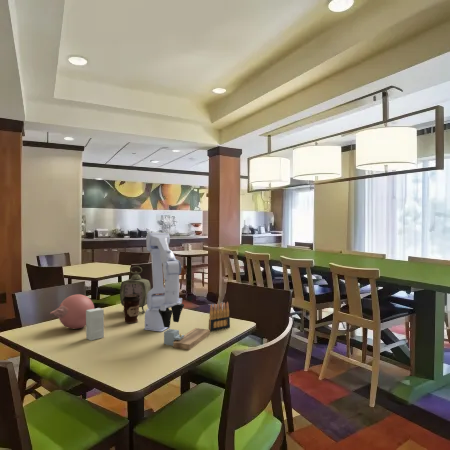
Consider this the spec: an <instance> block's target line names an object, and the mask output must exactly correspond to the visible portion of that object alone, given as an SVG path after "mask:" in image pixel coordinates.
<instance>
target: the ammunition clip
mask: <svg viewBox="0 0 450 450" xmlns="http://www.w3.org/2000/svg"><path fill="white" fill-rule="evenodd" d="M229 305H230V304H229V302H228V301H226V303H225V301H224V302H223V303H222V302H220V304H219V303H217V304H216V303H213V305H212V303H211V304H210V306H209V307H210V308H209V318H208V330H210V332H214V331H220V330H224V329H229V328H231V322H230V321H231V319H230V308H229Z"/></svg>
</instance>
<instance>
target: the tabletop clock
mask: <svg viewBox="0 0 450 450" xmlns="http://www.w3.org/2000/svg"><path fill="white" fill-rule="evenodd" d="M133 268H139V269H140V271H139V272H138V271H136V270H135V271H132V269H133ZM129 271H130V273H131V274H132V276H131V278H130V279H127V280H124V281H121V284H120V288H119V289H120V290H119V299H120V300H119V301H120V304H121V306H123V307H124V304H123V298H124V297H125V295H129V294H137V295H140V297H139V298H140V301H139V308H141V309H142V312H141V313H142V314H144V315H145V312H146V310H144V306H147V294H148V292H149V291H150V290H151V289H152V288H151V287H152V286H151V282H150V280H148V279H145V278H142V277H141V275H140V274H141V273H142V272H143V268H142V267H140V265H134V266H131V267H130V268H129ZM122 312H123V313H124V309H123V310H122Z"/></svg>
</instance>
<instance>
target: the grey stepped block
mask: <svg viewBox="0 0 450 450" xmlns="http://www.w3.org/2000/svg"><path fill="white" fill-rule="evenodd" d="M184 335H185V334H182V333H180V329H173V328H172V329H171V328H167V329H166V330H164V331H163V344H164V345H165V344H166V345H165V346H172V347H173V342H175V341H176V340H181V339H182V338H184Z"/></svg>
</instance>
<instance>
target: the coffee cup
mask: <svg viewBox="0 0 450 450" xmlns="http://www.w3.org/2000/svg"><path fill="white" fill-rule="evenodd" d="M139 297H140V295H137V294H129V295H125V297H124V298H123V304H124V306H123V310H124V312H123V315H124V317H123V318H124V323H125V324H135V323H137V322H139V318H138V316H139V315H140V314H139V313H140V312H139V311H140V307H139V301H140V298H139Z"/></svg>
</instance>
